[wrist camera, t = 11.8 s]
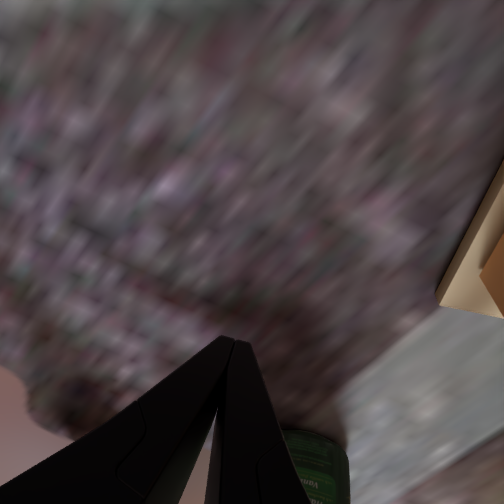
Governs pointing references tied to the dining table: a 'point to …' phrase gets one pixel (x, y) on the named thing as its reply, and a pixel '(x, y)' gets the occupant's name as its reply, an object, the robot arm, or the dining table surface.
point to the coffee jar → (320, 467)
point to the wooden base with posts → (476, 256)
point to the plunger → (495, 275)
